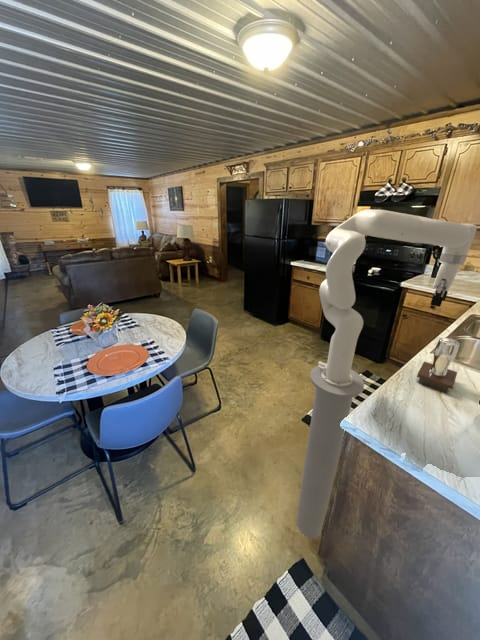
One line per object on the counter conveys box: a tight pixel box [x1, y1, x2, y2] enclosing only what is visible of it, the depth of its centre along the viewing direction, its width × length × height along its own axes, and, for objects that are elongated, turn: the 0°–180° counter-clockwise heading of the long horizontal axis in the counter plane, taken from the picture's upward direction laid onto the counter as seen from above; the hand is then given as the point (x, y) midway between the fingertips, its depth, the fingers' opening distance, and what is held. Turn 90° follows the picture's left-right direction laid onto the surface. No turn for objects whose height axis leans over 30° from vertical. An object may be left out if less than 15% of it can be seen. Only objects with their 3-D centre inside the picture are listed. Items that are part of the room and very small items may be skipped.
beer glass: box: [429, 337, 460, 377], centre depth 106 cm, size 7×7×15 cm
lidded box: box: [416, 361, 458, 394], centre depth 110 cm, size 12×13×4 cm
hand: (437, 302), depth 104 cm, fingers open, 9 cm apart
